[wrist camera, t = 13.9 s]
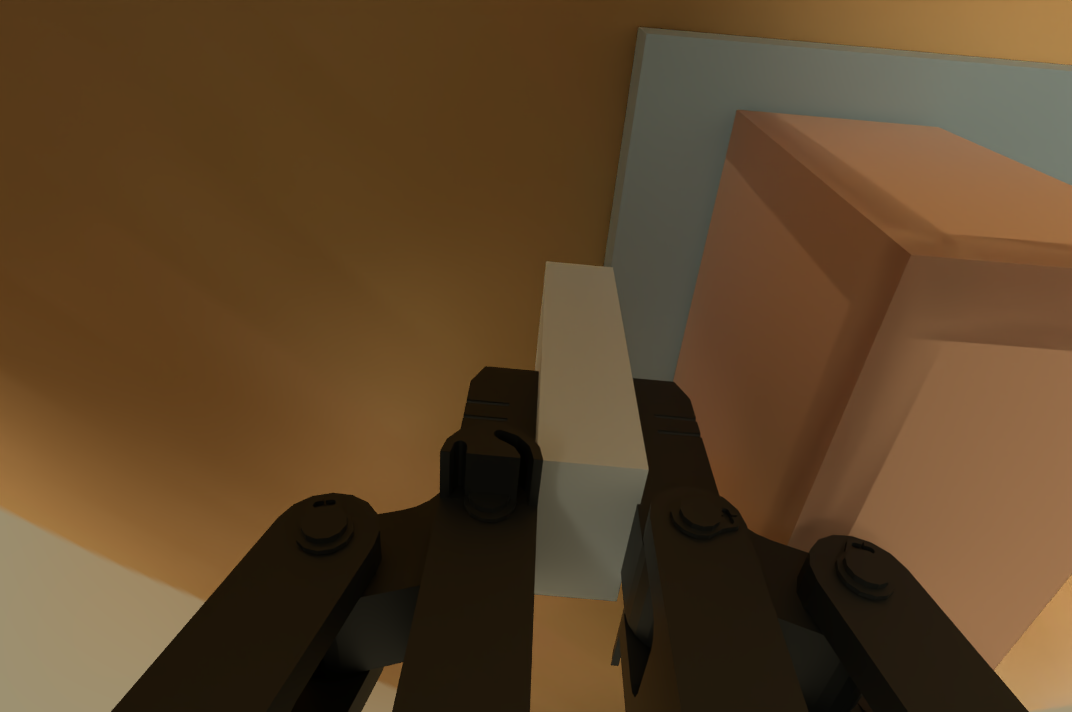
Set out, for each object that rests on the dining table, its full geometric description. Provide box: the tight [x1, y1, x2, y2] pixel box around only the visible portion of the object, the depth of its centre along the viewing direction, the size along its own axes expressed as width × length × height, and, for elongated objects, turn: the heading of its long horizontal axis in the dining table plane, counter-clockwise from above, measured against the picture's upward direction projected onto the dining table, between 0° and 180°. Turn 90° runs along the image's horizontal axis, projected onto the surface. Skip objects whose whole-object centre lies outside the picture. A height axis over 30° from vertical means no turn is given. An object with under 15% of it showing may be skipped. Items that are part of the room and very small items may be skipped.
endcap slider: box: [673, 110, 1072, 670], centre depth 12 cm, size 4×8×8 cm, turn 176°
